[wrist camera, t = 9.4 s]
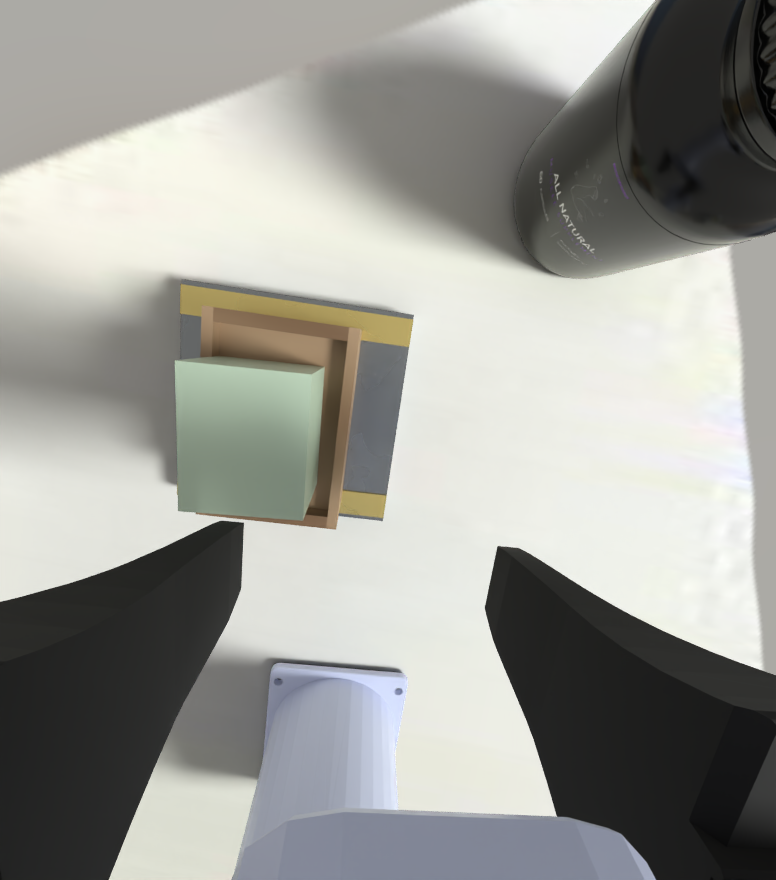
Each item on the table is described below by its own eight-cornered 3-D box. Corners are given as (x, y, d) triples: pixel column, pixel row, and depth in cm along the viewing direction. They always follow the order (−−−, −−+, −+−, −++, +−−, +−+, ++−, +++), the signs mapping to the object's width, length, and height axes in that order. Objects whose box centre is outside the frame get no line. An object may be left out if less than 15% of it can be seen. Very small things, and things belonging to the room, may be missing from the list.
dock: (381, 510, 21) (382, 521, 20) (188, 488, 20) (177, 498, 19) (411, 316, 19) (413, 314, 17) (194, 283, 18) (180, 279, 17)
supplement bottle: (485, 250, 18) (688, 91, 7) (549, 85, 17) (960, -499, 5) (615, 304, 19) (999, 249, 7) (687, 152, 18) (1311, -217, 6)
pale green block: (316, 483, 16) (302, 520, 13) (218, 475, 16) (178, 511, 13) (324, 366, 15) (311, 374, 12) (218, 355, 15) (174, 360, 12)
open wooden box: (341, 498, 19) (335, 529, 16) (225, 484, 19) (195, 514, 16) (362, 330, 18) (360, 328, 14) (233, 311, 17) (201, 305, 14)
